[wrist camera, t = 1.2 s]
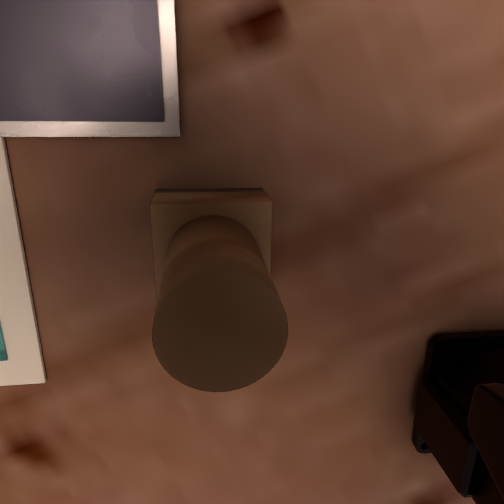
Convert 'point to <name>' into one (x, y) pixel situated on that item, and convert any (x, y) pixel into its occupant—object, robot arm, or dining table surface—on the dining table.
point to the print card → (15, 295)
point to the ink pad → (88, 68)
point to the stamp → (215, 287)
